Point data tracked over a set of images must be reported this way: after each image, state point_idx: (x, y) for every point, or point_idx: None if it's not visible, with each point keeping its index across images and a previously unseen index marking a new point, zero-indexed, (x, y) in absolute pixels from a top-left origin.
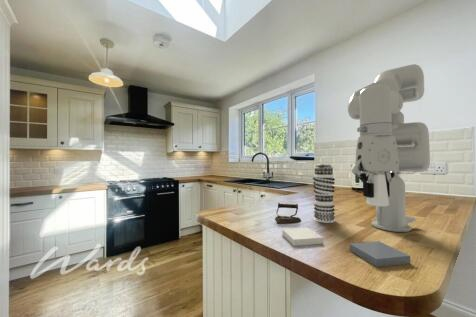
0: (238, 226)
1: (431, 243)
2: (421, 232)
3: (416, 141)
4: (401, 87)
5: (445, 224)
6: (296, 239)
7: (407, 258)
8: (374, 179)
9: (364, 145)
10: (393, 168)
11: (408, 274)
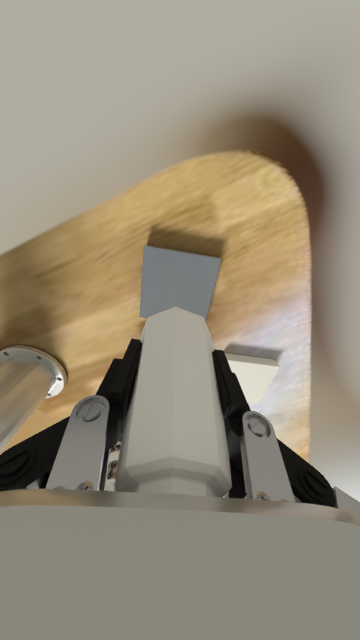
0: (291, 435)
1: (18, 292)
2: None
3: None
4: None
5: None
6: (275, 366)
7: (151, 246)
8: (222, 432)
9: None
10: (1, 553)
11: (191, 215)
